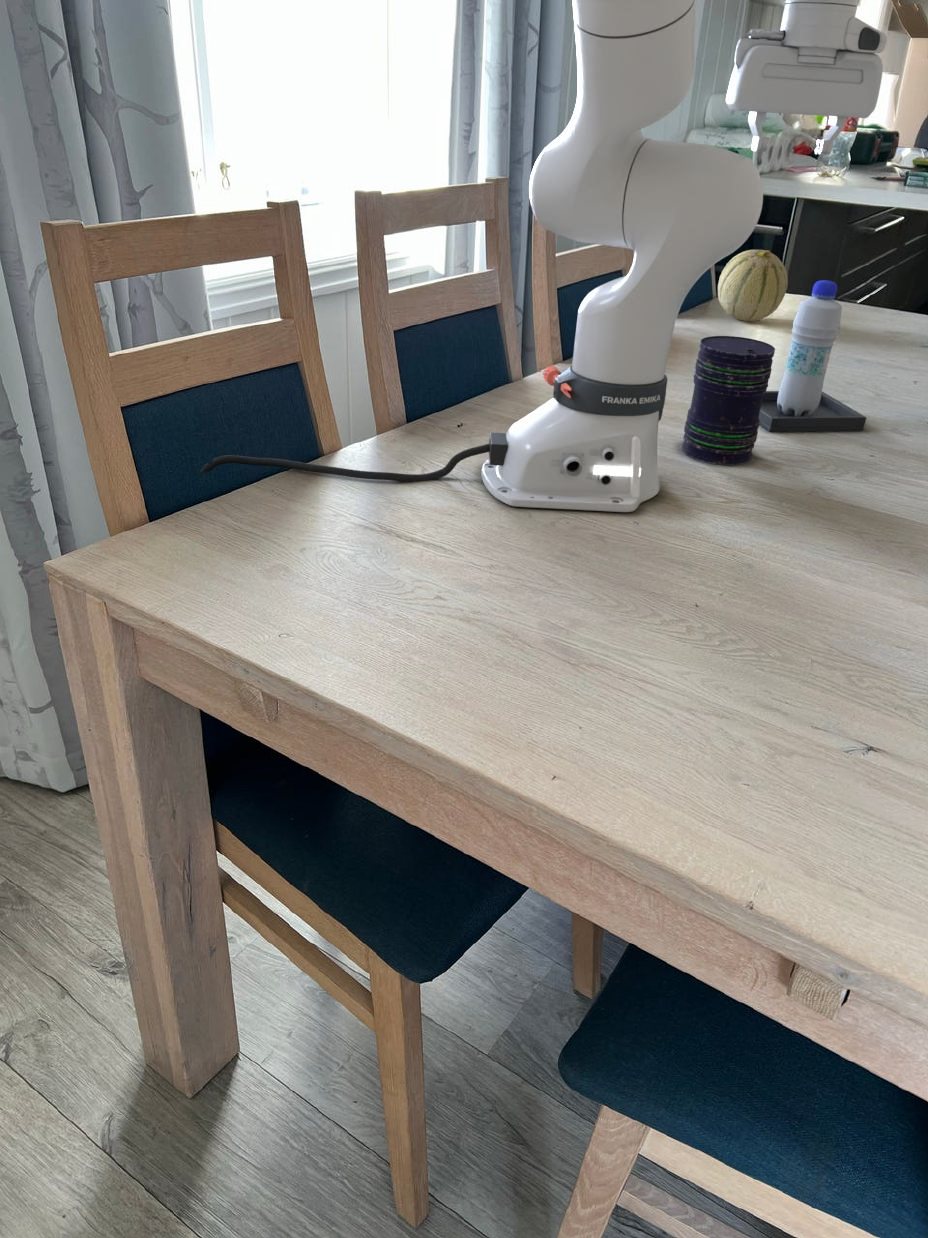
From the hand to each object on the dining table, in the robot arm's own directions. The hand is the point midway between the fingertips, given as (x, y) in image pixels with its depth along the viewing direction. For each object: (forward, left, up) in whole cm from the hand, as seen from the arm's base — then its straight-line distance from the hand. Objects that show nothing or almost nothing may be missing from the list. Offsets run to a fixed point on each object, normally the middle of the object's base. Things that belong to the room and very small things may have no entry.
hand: (790, 152), depth 128 cm
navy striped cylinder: (-10, -15, -37) cm, 41 cm away
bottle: (+10, 0, -37) cm, 38 cm away
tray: (+10, 0, -37) cm, 38 cm away
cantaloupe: (+33, +66, -37) cm, 83 cm away
